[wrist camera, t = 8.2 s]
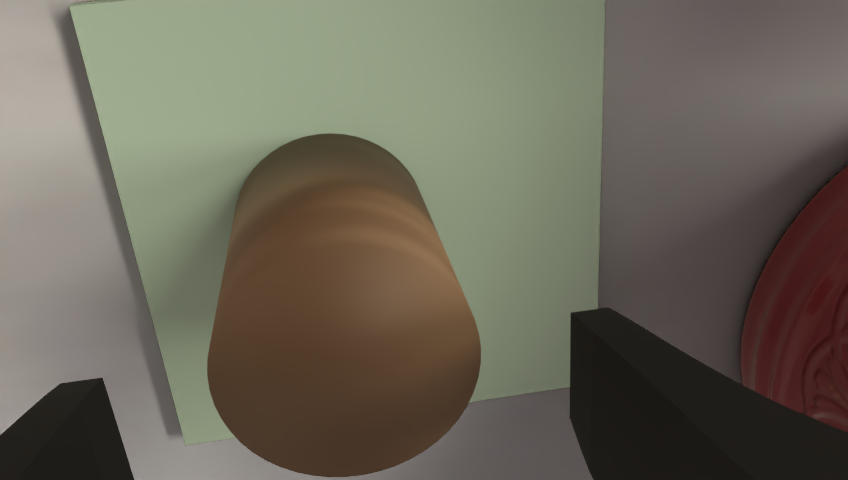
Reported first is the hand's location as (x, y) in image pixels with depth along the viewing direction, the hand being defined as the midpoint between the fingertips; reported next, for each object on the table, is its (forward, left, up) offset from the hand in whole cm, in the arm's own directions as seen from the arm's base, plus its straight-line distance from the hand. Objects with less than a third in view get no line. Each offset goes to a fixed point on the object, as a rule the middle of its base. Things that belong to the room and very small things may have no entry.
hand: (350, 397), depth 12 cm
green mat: (-1, 0, -7) cm, 7 cm away
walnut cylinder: (0, 0, -7) cm, 7 cm away
